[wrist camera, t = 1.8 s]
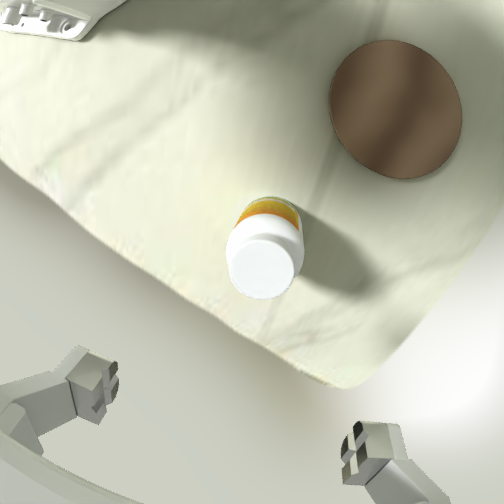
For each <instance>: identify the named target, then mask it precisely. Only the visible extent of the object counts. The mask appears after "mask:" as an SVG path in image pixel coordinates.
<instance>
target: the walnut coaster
mask: <svg viewBox="0 0 504 504" xmlns="http://www.w3.org/2000/svg"><path fill="white" fill-rule="evenodd" d="M329 108H330V115H331V119H332V123H333V126H334V129H335V131H336V133H337V135H338V137H339V139H340V141H341V142H342V144H343V145H344V147H345V148H346V149H347V150H348V152H349V153H350V154H351V155H352V156H353V157H354V158H355V159H356V160H357V161H359V162H360V163H361V164H363V165H364V166H366V167H367V168H369V169H371V170H373V171H375V172H377V173H379V174H382V175H384V176H388V177H392V178H399V179H410V178H416V177H420V176H423V175H426V174H428V173H430V172H433V171H434V170H436V169H437V168H439V167H440V166H441V165H442V164H443V163H444V162H445V161H446V160H447V159H448V158H449V156H450V155H451V154H452V152H453V150H454V149H455V146H456V144H457V142H458V139H459V136H460V132H461V126H462V110H461V104H460V99H459V96H458V93H457V90H456V87H455V85H454V83H453V81H452V79H451V78H450V76H449V74H448V73H447V72H446V70H445V69H444V68H443V67H442V66H441V64H440V63H439V62H438V61H437V60H436V59H434V58H433V57H432V56H431V55H430V54H428V53H427V52H425V51H423V50H422V49H420V48H418V47H416V46H414V45H411V44H408V43H405V42H400V41H393V40H382V41H376V42H371V43H369V44H366V45H363V46H361V47H360V48H358V49H356V50H355V51H354V52H352V53H351V54H350V55H349V56H348V57H347V58H346V59H345V60H344V61H343V62H342V64H341V65H340V67H339V68H338V70H337V71H336V74H335V76H334V78H333V81H332V84H331V88H330V94H329Z"/></svg>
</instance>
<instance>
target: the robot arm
mask: <svg viewBox="0 0 504 504" xmlns="http://www.w3.org/2000/svg"><path fill="white" fill-rule="evenodd" d="M125 1H126V0H0V12H1V15H0V27H1V30H2V31H5V32H8V33H19V34H29V35H38V36H45V37H53V38H59V39H66V40H72V41H78V40H80V39H82V38H83V37H84V36H85V35H86V34H87V33H88V32H89V31H90V30H91V29H92V27H93V26H94V25H95V24H96V23H97V21H98V20H99V19H100V18H101V17H103V16H104V15H105V14H107V13H108V12H110V11H111V10H113V9H115V8H116V7H118V6H119V5H121V4H122V3H123V2H125ZM70 26H71V28H70V29H69V27H70ZM117 370H118V363H117V362H116V361H114V360H112V359H109V358H107V357H104V356H102V355H100V354H98V353H96V352H93V351H91V350H88V349H86V348H84V347H82V346H79V345H78V346H76V347H74V348H73V349H72V351H71V352H70V353H69V354H68V355H67V356H66V357H65V358H64V360H63V361H62V362H61V363H60V364H59V365H58V367H57V368H56V369H55V370H54V371H53V372H50V371H47V372H44V373H41V374H38V375H34V376H31V377H28V378H24V379H21V380H18V381H14V382H11V383H7V384H4V385H1V386H0V504H142V503H139V502H137V501H134V500H132V499H129V498H126V497H124V496H121V495H119V494H116V493H114V492H111V491H109V490H107V489H104V488H102V487H100V486H98V485H95V484H93V483H91V482H89V481H87V480H85V479H83V478H81V477H79V476H77V475H75V474H73V473H71V472H69V471H67V470H65V469H63V468H61V467H59V466H58V465H55V464H54V463H52V462H50V461H49V460H47V459H45V458H44V457H42V454H43V452H44V451H43V448H42V446H41V444H40V442H39V440H38V436H40V435H42V434H45V433H47V432H49V431H50V430H52V429H54V428H56V427H58V426H60V425H62V424H64V423H66V422H68V421H70V420H72V419H74V418H76V417H77V416H79V417H81V418H83V419H86V420H88V421H91V422H93V423H95V424H98V425H99V423H100V422H101V420H102V418H103V417H104V415H105V414H106V412H107V411H106V405H108V404H110V403H112V402H113V400H114V399H115V397H116V394H117V391H118V386H119V379H118V377H117V376H116V374H115V373H116V372H117ZM341 459H342V461H343V462H344V463H345V466H344V467H343V468H342V479H343V484H346V485H362V486H365V488H366V490H367V491H368V493H369V494H370V496H371V497H372V499H373V500H374V502H375V503H376V504H451V503H450V499H449V497H448V496H447V495H446V494H445V493H444V492H443V491H442V490H441V489H440V488H439V487H438V486H437V485H436V484H435V483H434V482H433V481H432V480H431V479H430V478H429V477H428V476H427V475H426V474H425V473H424V472H423V471H422V470H421V469H420V468H419V467H418V466H417V465H416V464H415V462H414V461H413V460H412V459H408V457H407V453H406V449H405V445H404V441H403V437H402V433H401V429H400V426H399V425H398V424H391V423H380V422H367V421H358V422H356V423H355V425H354V426H353V432H352V433H350V434H348V435H347V436H346V438H345V439H344V441H343V444H342V447H341Z"/></svg>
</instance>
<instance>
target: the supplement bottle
mask: <svg viewBox="0 0 504 504" xmlns="http://www.w3.org/2000/svg"><path fill="white" fill-rule="evenodd" d="M304 254H305V248H304V239H303V229H302V222H301V218H300V216H299V213H298V211H297V210H296V209H295V207H294V206H293V205H292V204H290V203H289V202H288V201H286V200H284V199H282V198H279V197H274V196H267V197H261V198H258V199H256V200H254V201H253V202H251V203H250V204H249V205H248V206H247V207H246V208H245V210H244V211H243V213H242V215H241V216H240V218H239V220H238V222H237V224H236V225H235V227H234V229H233V231H232V232H231V234H230V237H229V239H228V242H227V247H226V257H227V262H228V265H229V274H230V278H231V280H232V282H233V284H234V285H235V287H236V288H237V289H238V290H239V291H240V292H241V293H243V294H244V295H246V296H248V297H250V298H253V299H259V300H268V299H273V298H275V297H278V296H280V295H281V294H283V293H284V292H285V291H286V290H287V289H288V288H289V287H290V285H291V284H292V281H293V279H294V278H295V277H296V276H297V274H298V273H299V271H300V270H301V267H302V265H303V261H304Z"/></svg>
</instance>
